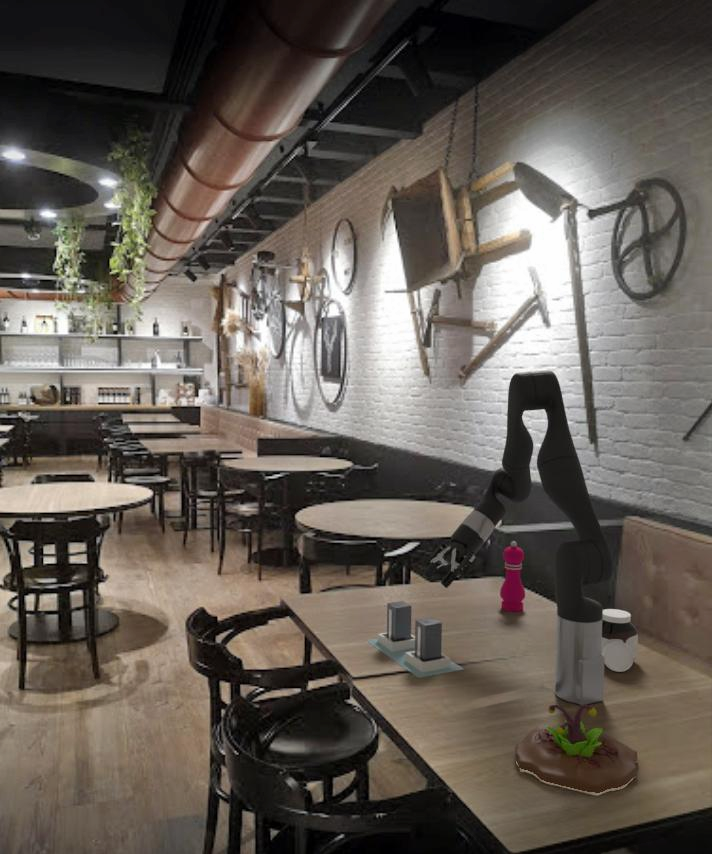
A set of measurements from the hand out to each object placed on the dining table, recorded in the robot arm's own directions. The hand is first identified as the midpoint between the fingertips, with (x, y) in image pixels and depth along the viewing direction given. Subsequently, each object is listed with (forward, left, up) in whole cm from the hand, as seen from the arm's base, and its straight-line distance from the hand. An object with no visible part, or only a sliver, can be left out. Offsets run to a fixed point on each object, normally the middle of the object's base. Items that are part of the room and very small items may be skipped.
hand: (434, 581), depth 190 cm
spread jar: (-29, -33, -16) cm, 47 cm away
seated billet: (-14, +10, -15) cm, 23 cm away
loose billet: (0, +10, -15) cm, 18 cm away
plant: (-61, +8, -17) cm, 64 cm away
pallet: (-7, +10, -16) cm, 20 cm away
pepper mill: (+16, -37, -16) cm, 43 cm away
